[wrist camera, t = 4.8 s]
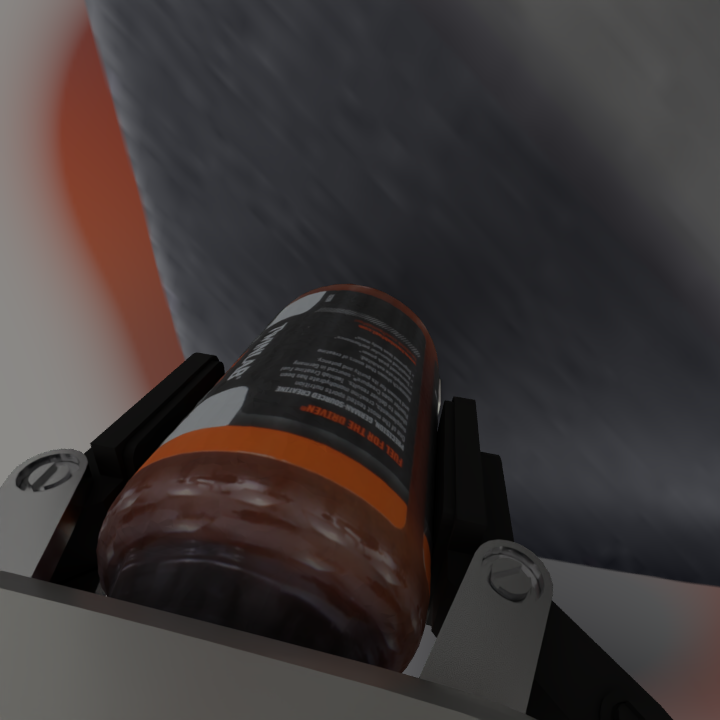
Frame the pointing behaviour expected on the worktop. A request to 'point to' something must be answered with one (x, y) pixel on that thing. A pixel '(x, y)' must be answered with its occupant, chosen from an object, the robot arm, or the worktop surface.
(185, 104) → the worktop surface
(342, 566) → the supplement bottle
